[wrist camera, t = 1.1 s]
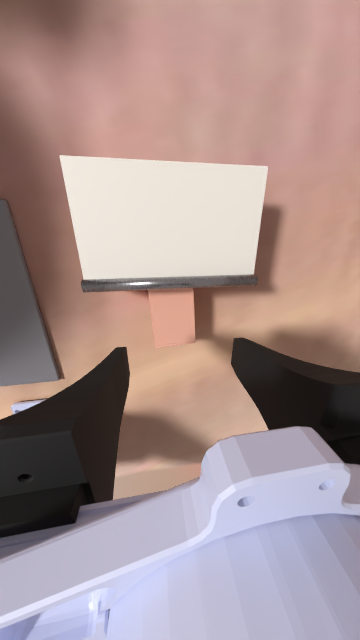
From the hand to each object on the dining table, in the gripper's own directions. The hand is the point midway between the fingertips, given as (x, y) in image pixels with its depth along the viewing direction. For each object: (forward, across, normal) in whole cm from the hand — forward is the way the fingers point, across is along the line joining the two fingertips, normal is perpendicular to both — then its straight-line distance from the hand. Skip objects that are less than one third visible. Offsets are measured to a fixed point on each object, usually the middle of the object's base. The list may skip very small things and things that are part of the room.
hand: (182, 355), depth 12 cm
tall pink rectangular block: (+8, 0, -2) cm, 9 cm away
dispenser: (+8, 0, -8) cm, 11 cm away
